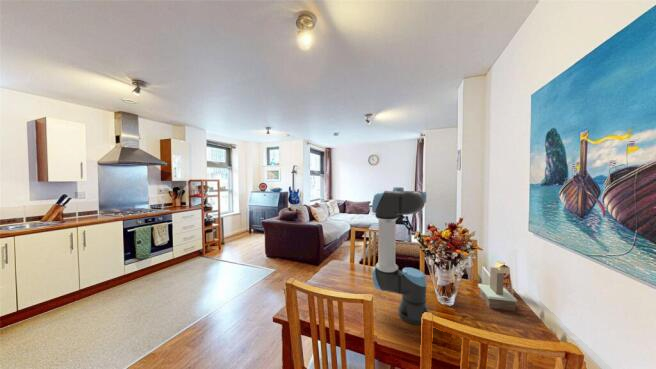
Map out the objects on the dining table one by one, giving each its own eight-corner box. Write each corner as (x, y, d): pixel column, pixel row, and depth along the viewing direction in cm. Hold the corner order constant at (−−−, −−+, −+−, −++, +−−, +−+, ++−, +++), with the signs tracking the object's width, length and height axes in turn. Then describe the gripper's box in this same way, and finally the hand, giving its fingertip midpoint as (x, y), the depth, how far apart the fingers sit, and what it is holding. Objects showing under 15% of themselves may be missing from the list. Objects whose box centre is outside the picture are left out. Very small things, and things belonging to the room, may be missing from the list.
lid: (516, 301, 120) (517, 277, 120) (488, 298, 124) (489, 274, 123) (502, 288, 135) (503, 266, 134) (477, 285, 138) (478, 264, 138)
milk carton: (513, 297, 136) (514, 264, 136) (496, 295, 138) (497, 263, 138) (505, 289, 145) (506, 259, 145) (489, 288, 147) (490, 257, 146)
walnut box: (514, 312, 121) (515, 301, 121) (489, 308, 124) (489, 298, 124) (501, 298, 135) (502, 288, 135) (478, 295, 138) (479, 286, 137)
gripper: (415, 208, 163) (414, 238, 164) (379, 207, 168) (379, 235, 169) (417, 210, 156) (416, 241, 156) (380, 208, 161) (379, 238, 162)
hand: (397, 238), depth 163 cm, fingers open, 13 cm apart
